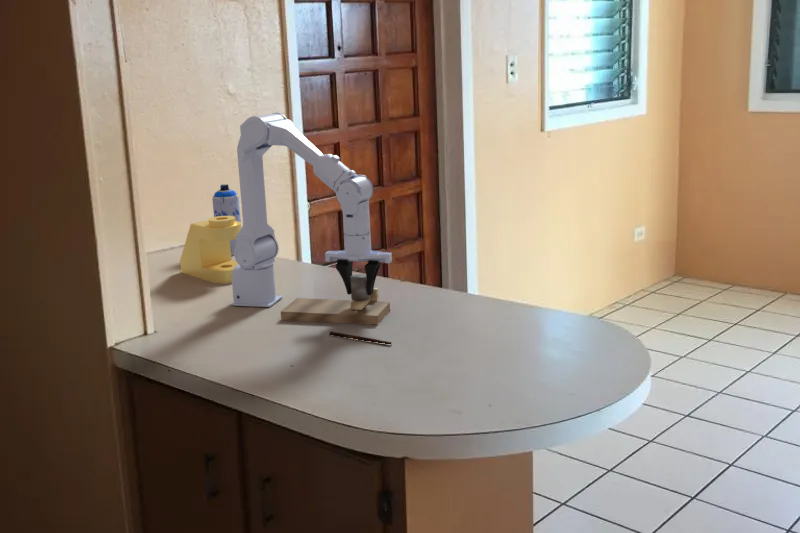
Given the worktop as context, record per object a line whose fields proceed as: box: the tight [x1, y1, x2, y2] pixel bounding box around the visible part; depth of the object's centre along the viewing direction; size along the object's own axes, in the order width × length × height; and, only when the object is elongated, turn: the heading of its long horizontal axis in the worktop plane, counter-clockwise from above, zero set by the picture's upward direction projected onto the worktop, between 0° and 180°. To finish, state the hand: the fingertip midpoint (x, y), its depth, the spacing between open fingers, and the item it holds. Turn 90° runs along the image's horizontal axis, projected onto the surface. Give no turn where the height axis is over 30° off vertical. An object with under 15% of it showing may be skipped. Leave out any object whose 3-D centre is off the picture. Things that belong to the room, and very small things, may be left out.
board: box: [280, 297, 391, 325], centre depth 188 cm, size 22×10×2 cm, turn 76°
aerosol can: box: [212, 184, 242, 257], centre depth 247 cm, size 8×8×20 cm
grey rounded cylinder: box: [350, 273, 380, 310], centre depth 188 cm, size 5×9×8 cm, turn 166°
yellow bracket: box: [179, 216, 242, 284], centre depth 224 cm, size 20×9×16 cm, turn 44°
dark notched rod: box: [328, 331, 392, 345], centre depth 172 cm, size 15×1×1 cm, turn 59°
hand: (360, 293), depth 187 cm, fingers closed on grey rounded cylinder, 4 cm apart
